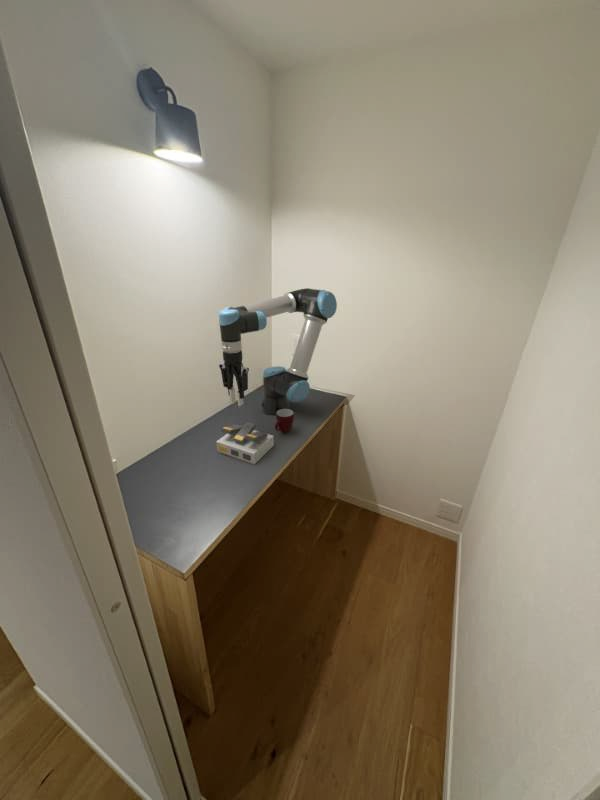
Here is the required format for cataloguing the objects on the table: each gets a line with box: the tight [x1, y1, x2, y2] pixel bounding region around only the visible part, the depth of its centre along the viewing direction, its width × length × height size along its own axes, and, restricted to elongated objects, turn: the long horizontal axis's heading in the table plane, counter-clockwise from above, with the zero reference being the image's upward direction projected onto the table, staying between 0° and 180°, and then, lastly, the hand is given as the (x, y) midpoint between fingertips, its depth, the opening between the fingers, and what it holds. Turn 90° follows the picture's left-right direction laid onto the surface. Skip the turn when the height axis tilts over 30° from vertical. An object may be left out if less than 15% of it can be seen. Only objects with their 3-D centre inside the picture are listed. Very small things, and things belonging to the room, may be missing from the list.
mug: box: [274, 408, 295, 434], centre depth 146 cm, size 10×8×10 cm
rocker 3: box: [245, 430, 269, 442], centre depth 130 cm, size 10×4×2 cm, turn 153°
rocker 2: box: [234, 421, 256, 444], centre depth 133 cm, size 10×4×2 cm, turn 153°
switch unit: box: [215, 429, 275, 465], centre depth 135 cm, size 15×19×7 cm
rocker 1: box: [221, 424, 244, 434], centre depth 135 cm, size 10×4×2 cm, turn 153°
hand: (237, 403), depth 134 cm, fingers open, 3 cm apart
